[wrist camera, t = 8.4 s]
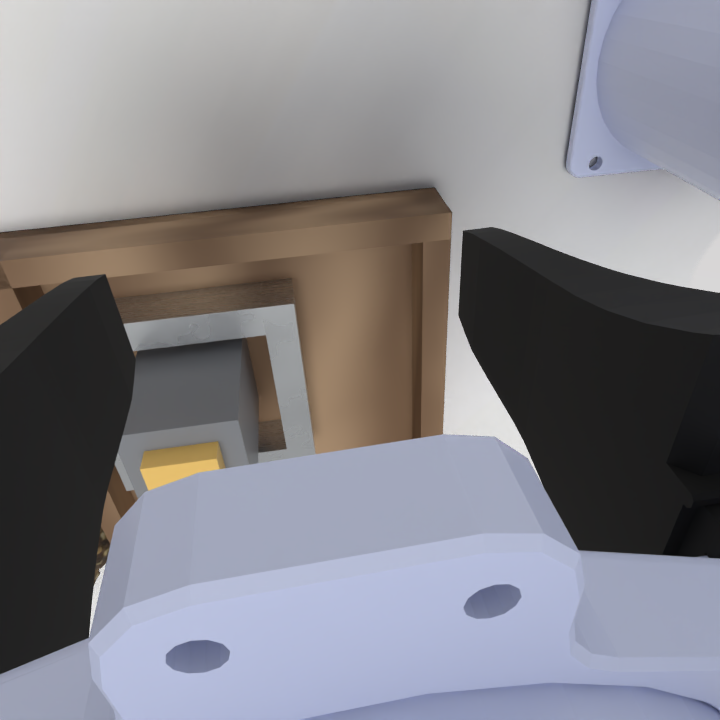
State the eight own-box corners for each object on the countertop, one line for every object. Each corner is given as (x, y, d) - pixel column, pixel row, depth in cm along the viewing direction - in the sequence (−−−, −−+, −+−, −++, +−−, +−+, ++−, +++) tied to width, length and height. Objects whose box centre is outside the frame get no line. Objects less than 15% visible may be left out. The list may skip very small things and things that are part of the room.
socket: (291, 277, 22) (294, 303, 21) (313, 433, 27) (316, 464, 26) (70, 303, 22) (55, 331, 20) (134, 458, 27) (126, 490, 25)
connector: (243, 321, 23) (237, 437, 18) (258, 397, 26) (258, 519, 20) (142, 333, 23) (105, 455, 18) (168, 408, 25) (142, 536, 20)
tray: (434, 187, 22) (452, 212, 20) (427, 500, 32) (438, 536, 30) (-5, 233, 20) (-34, 264, 18) (139, 542, 31) (130, 583, 29)
